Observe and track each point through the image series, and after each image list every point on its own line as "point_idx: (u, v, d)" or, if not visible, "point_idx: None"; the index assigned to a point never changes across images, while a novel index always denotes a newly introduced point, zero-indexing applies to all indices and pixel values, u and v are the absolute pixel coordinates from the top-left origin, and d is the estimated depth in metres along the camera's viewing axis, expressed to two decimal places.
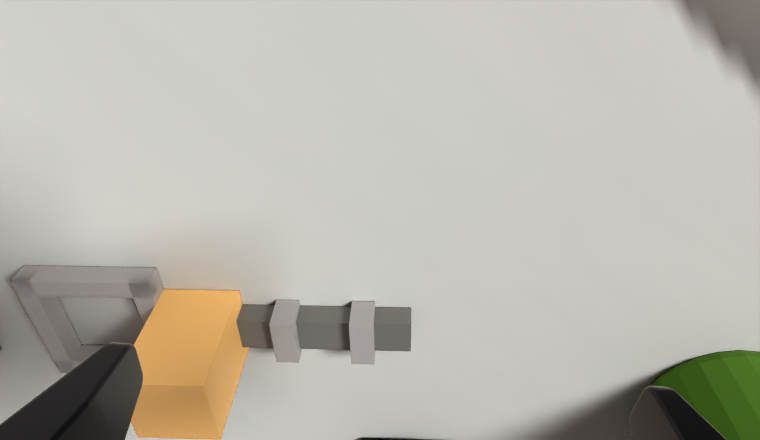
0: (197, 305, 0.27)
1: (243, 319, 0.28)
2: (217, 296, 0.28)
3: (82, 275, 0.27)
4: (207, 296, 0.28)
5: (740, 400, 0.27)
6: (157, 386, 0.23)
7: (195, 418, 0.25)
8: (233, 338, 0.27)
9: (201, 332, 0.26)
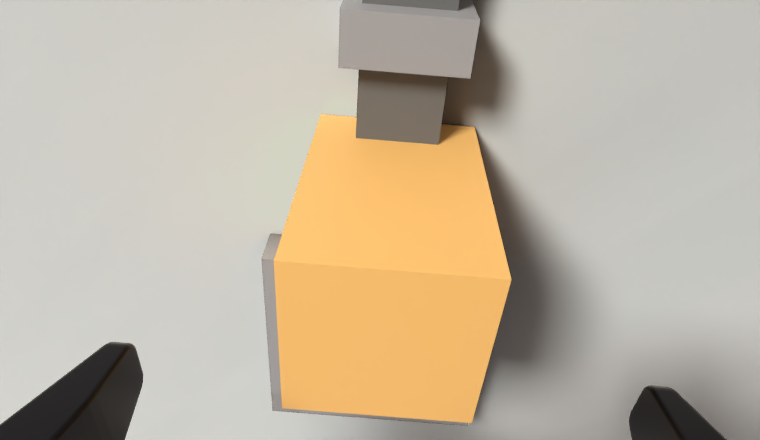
0: None
1: None
2: None
3: None
4: None
5: None
6: (284, 345, 0.10)
7: (409, 308, 0.09)
8: (370, 156, 0.12)
9: None
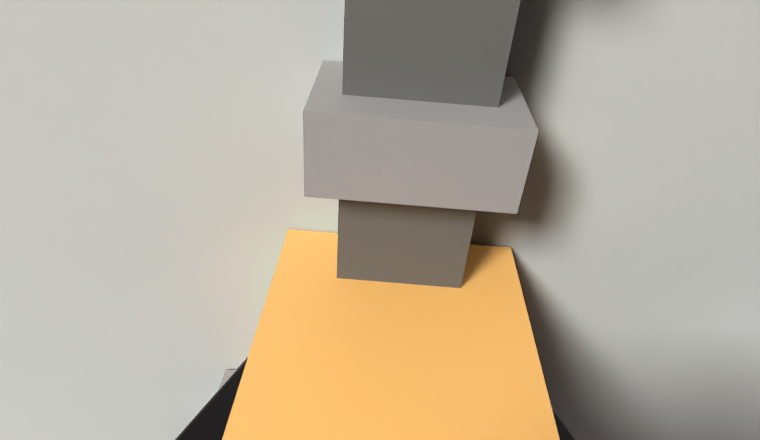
0: None
1: None
2: None
3: None
4: None
5: None
6: None
7: None
8: (358, 318, 0.08)
9: None
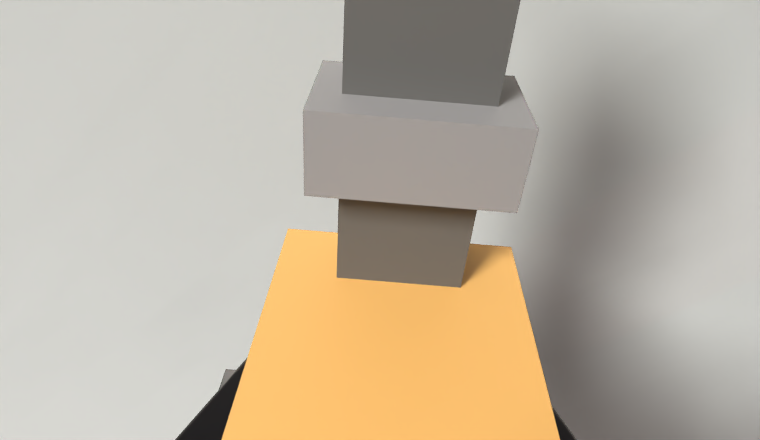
0: None
1: None
2: None
3: None
4: None
5: None
6: None
7: None
8: (358, 317, 0.08)
9: None
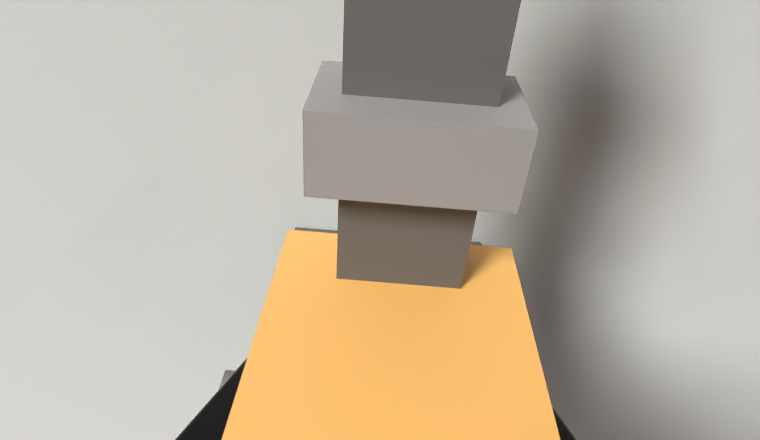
0: None
1: None
2: None
3: None
4: None
5: None
6: None
7: None
8: (358, 318, 0.08)
9: None
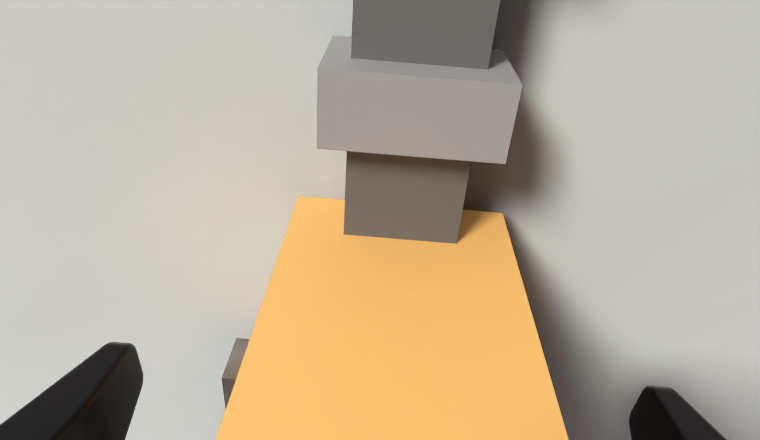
0: None
1: None
2: None
3: None
4: None
5: None
6: None
7: None
8: (363, 265, 0.09)
9: None
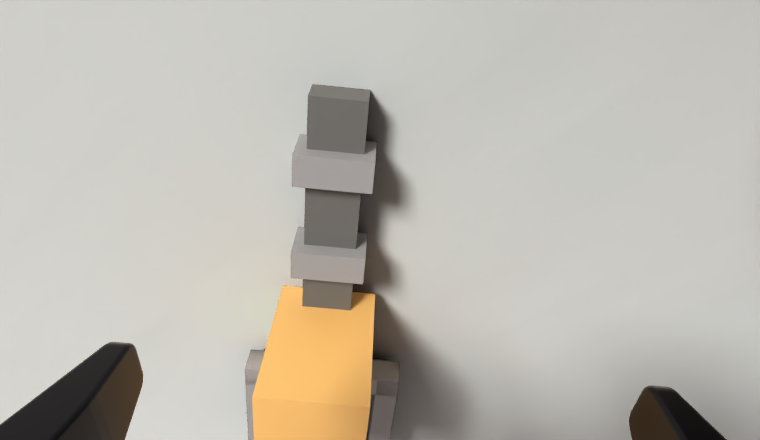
0: None
1: None
2: None
3: None
4: None
5: None
6: (257, 436, 0.19)
7: (321, 419, 0.19)
8: (309, 320, 0.22)
9: None
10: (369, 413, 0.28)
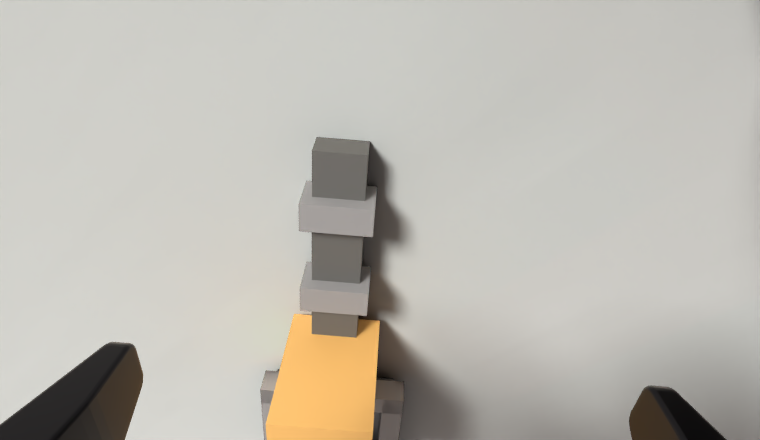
0: None
1: None
2: None
3: None
4: None
5: None
6: None
7: None
8: (318, 348, 0.23)
9: None
10: (377, 427, 0.29)
